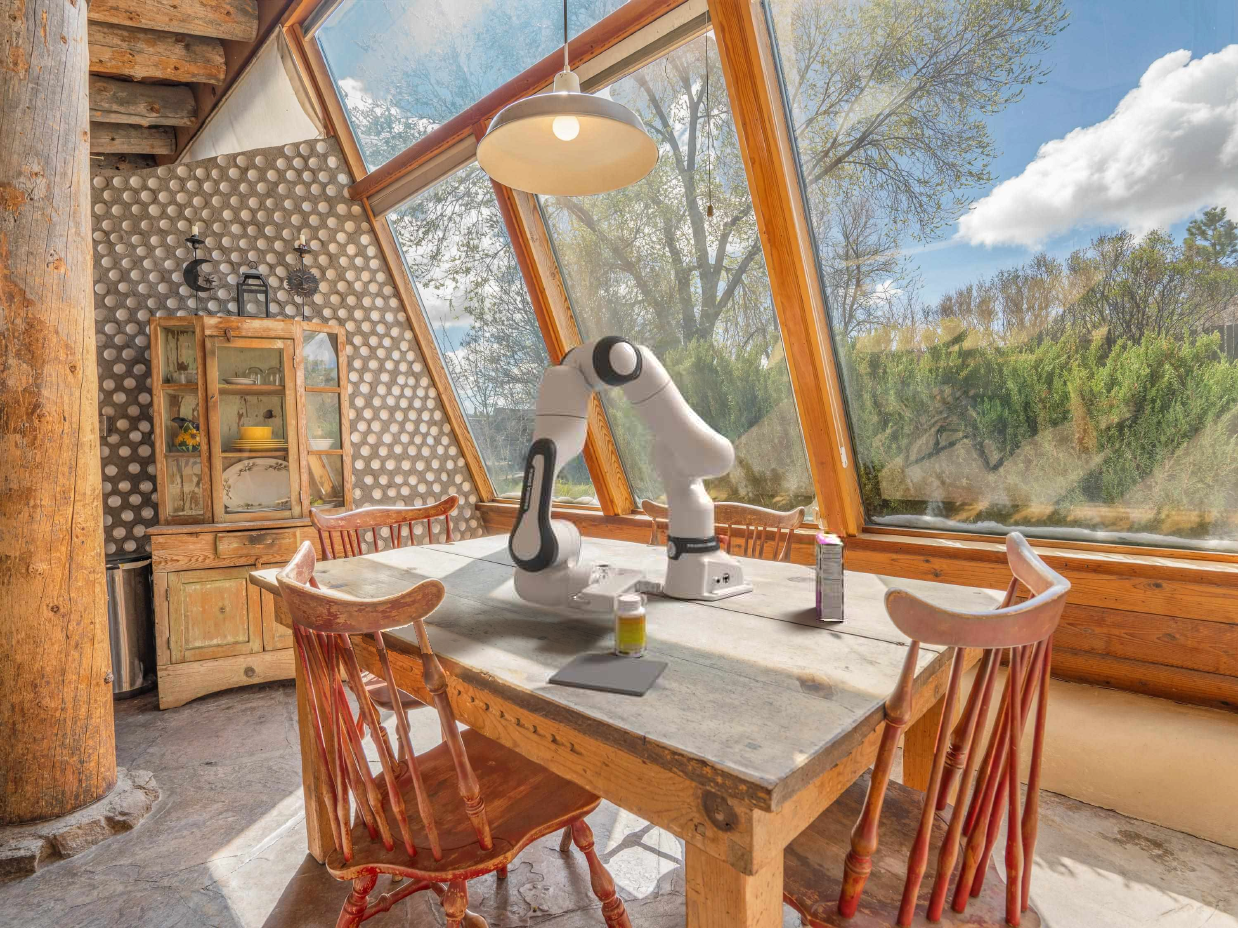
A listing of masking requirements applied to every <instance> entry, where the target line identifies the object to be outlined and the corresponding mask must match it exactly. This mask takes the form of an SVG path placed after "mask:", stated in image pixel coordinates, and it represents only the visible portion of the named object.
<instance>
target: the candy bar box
mask: <svg viewBox="0 0 1238 928" xmlns="http://www.w3.org/2000/svg"><path fill="white" fill-rule="evenodd" d="M844 546H845V545H844V543H843V542H842V540H841V538H840V537H839V536H838V535H837V534H835V533H833V534H829V533H823V534H822V533H817V534H814V562H815V563H814V564H815V565H814V567H815V569H814V571H815V572H814V573H815V577H814V579H815V584H814V585H815V608H816V611H817V610H818V611H817V613H819V614H818V617H819V616H820V617H819V620H820V619H837V620H844V621H845V617H844V615H845V612H844V610H845V609H844V608H845V604H844V603H845V601H844V600H845V593H844V590H845V588H844V585H845V584H844V581H845V579H844V577H845V575H844V574H845V573H844V567H845V566H844V563H845V562H844Z"/></svg>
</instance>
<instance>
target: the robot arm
mask: <svg viewBox="0 0 1238 928" xmlns="http://www.w3.org/2000/svg"><path fill="white" fill-rule="evenodd" d="M539 383H540V385H539V388H538V393H537V399H536V406H535V417H534V418H535V419H534V430H533V437H532V442H531V444H530V445H531V446H530V448H529V450H528V453H527V457H526V461H525V466H524V473H523V478H522V480H523V481H522V487H521V492H520V493H521V494H520V499H519V507H518V512H517V517H516V520H515V523H514V524H513V526H512V529H511V531H510V534H509V537H508V541H507V542H508V543H507V549H508V552H509V556H510V557H511V559H512V562H513V563H514V565H516V566H517V567H516V569H515V571H514V573H513V586H514V591H515V592H516V594H517V596H518V597H519V598H520V599H521V600H523V601H525V602H528V603H531V604H534V605H539V606H545V607H560V606H561V607H562V606H563V607H566V608H570V609H571V610H572V609H573V610H584V611H590V612H596V613H601V614H613V613H614V612H615V609H616V608H618V607H619V597H621V596H625V595H635V596H639V597H640V598H641V606H645V605H646V604H647V603H648V596H647V594H645V593H642V592H643V591H644V592H646V591H649V592H651V593H657V594H658V593H660V592H662V593H664V594H665V595H667V596H669V597H674V598H680V599H685V600H687V599H690V600H692V599H693V600H695V599H696V600H705V601H717V600H721V599H725V598H729V597H732V596H736V595H740V594H743V593H748V592H751V591H752V592H753V591H754V585H753V584H752V583H750V582H749V581H746V580H745V578H744V571H743V568H742V565H741V563H739V561H737V560H736V559H734V558H733V557H732V556H730V555H729V554H728V553H726V552H725V551H724V550H723V549H721V545H720V544H723V545H728V543H729V539H730V538H729V537H728V536H726V535H722V534H721V535H717V534H716V533H715V504H714V502H713V499H712V498H711V496H710V495H709V494H708V493H707V490H706V489H705V487H704V483H703V480H711V479H716V478H721V477H723V476H725V475H727V474H728V473H729V472H730V471H731V469H732V467H733V465H734V463H735V458H736V457H735V456H736V455H735V454H736V453H735V449H734V446H733V444H732V443H731V441H730V440H729V439H728V438H727V437H725V436H723V435H721V434H720V433H718V432H716V430H714V429H713V428H712V427H711V426H710V425H708V424H707V423H706V422H705V421H704V420H703V419H702V418H701V417H700V416H699V415H698V414H697V413H696V412H695V411H694V410H693V409H692V408H691V406H689V404H688V403H687V401H686V400H685V398H684V397H683V396H682V394H681V392H680V391H679V389H678V387H677V386H676V385H675V383H674V381H673V380H672V378H671V376H670V375H669V373H668V372H667V370H666V369H665V367H664V366H663V364H662V363H661V362H660V361H659V360H658V358H657V357H656V356H655V355H654V353H653V352H651V350H650V349H649V348H648V347H647V346H645V345H643V344H634V343H633V342H632V341H630V339H627V338H626V337H624V336H620V335H607V336H604V337H601V338H595V339H592V340H588V341H586V342H585V343H582V344H581V345H579V346H575V347H573V348H570V349H569V350H568V351H567V352H566V353H564V355H563V356H562V357H561V359H560V360H559V364H558V365H556V366H553V367H551V368H548V369H546V371H544V373H543V374H542V377H541V381H540V382H539ZM614 387H617V388H619V389H620V390H621V391H622V392H623V394H624V396H625V397H626V399H627V401H628V402H629V404H630V405H631V407H632V410H634V412H635V414H637V417H638V418H639V420H640V421H641V423H642V424H643V425H644V428H646V430H647V431H648V432H649V433H651V434H652V435H654V436H656V437H657V438H656V439H655V440H654V441H653V443H652V445H651V447H650V452H649V453H650V456H649V457H650V461H651V463H652V465H653V467H654V468H655V469H656V470H657V472H658V473H659V476H660V478H661V482H662V485H663V488H664V491H665V496H666V502H667V516H668V518H667V519H668V520H667V521H668V533H667V534H666V555H667V566H666V573H665V579H664V584H662V583H661V582H656V581H653V580H650V579H648V578H647V573H646V572H644V571H642V570H635V569H630V568H623V567H612V565H611V564H605V563H604V564H599V565H581V564H580V565H579V563H578V562H579V560H580V559H579V558H580V554H581V547H582V536H581V533H580V531H579V529H578V527H577V526H576V524H575V523H573V522H571V521H569V520H568V519H563V518H558V519H557V518H556V519H554V518H551V515H552V507H553V501H554V493H555V492H554V491H555V485H556V479H557V476H559V475H558V474H559V473H560V471H561V469H562V468H563V467H564V466H565V465H567V463H568V462H571V461H573V459H575V458H576V457H578V456H579V455H580V454H581V453H582V451H583V450H584V448H585V443H586V439H587V436H588V434H587V433H588V424H589V422H588V421H589V401H590V398H591V396H592V394H593V393H596V392H597V393H598V392H599V393H600V392H603V391H606V390H609V389H611V388H614Z"/></svg>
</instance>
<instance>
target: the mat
mask: <svg viewBox="0 0 1238 928" xmlns="http://www.w3.org/2000/svg"><path fill="white" fill-rule="evenodd" d="M668 664H669V663H668V661H660V660H652V659H645V658H644V659H643V658H638V657H636V658H629V657H621V656H618V655H610V654H604V653H603V654H602V653H595V652H587V651H586V652H585V651H581V652H580V653H579V654H578V655H576V656H575V657H574V658H573V659H572V660H570V661H569V662H568V663H566V664H565V665H564V666H563V667H561V668H560V669H559V670H558V671H557V672H555V673H554V674H553V675H552V676H551V677H549V678H548V682H549V683H551V684H557V685H564V686H569V687H570V686H571V687H579V688H585V689H591V690H592V689H593V690H598V691H605V692H612V693H620V694H626V695H627V694H628V695H634V696H639V697H644V696H645V695H646V693H647V692H648V691H649V689H650V688H651V687H652V686H653V684H654V683H655V682H656V681H657V680H658V678H659V677H660V676H661V675H662V673H664V671H665V670H666V668H667V667H668V666H669V665H668ZM549 683H548V684H549Z"/></svg>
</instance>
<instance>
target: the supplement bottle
mask: <svg viewBox="0 0 1238 928" xmlns="http://www.w3.org/2000/svg"><path fill="white" fill-rule="evenodd" d="M646 633H647V632H646V610H645V607H643V606H642V605H641V598H640V597H639V596H635V595H625V596H621V597H619V607H618V608H616V609H615V612H614V652H615V654H616V656H621V657H629V658H639V657H642V656H644V655H645V654H646V651H647V646H646V645H647V638H646V637H647V634H646Z"/></svg>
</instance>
